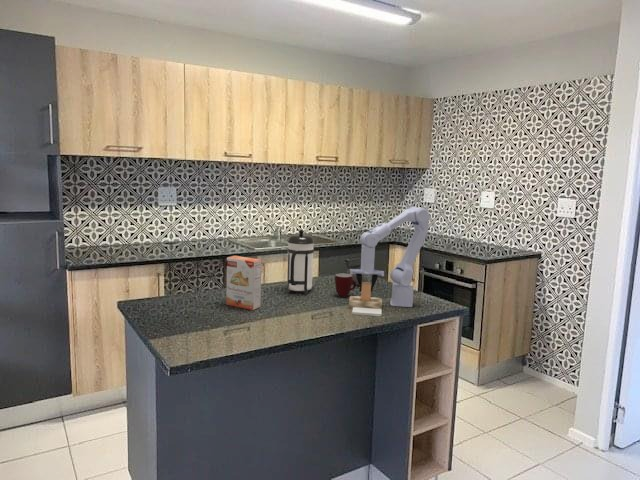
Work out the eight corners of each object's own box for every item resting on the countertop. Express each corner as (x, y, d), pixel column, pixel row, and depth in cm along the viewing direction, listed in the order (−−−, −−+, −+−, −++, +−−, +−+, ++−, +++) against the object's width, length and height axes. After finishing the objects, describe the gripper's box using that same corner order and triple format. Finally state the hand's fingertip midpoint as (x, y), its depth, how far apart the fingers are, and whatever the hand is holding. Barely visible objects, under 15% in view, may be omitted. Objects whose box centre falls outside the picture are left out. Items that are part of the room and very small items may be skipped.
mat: (381, 311, 200) (381, 309, 200) (381, 316, 193) (381, 314, 193) (353, 309, 202) (353, 307, 202) (352, 314, 195) (352, 312, 195)
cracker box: (225, 305, 201) (225, 257, 198) (234, 302, 206) (234, 254, 203) (252, 311, 195) (253, 261, 191) (261, 307, 200) (262, 258, 197)
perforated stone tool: (368, 287, 241) (369, 274, 240) (359, 288, 238) (360, 274, 237) (352, 280, 254) (353, 268, 253) (344, 281, 251) (345, 268, 250)
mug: (349, 292, 229) (350, 272, 228) (359, 296, 222) (360, 275, 221) (331, 294, 224) (331, 274, 222) (340, 299, 217) (341, 277, 215)
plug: (370, 300, 208) (371, 282, 207) (370, 302, 204) (371, 284, 203) (361, 299, 209) (362, 281, 208) (360, 302, 205) (361, 284, 204)
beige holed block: (381, 304, 211) (381, 298, 210) (381, 310, 202) (381, 303, 201) (350, 302, 212) (350, 295, 212) (348, 308, 203) (348, 301, 203)
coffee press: (277, 288, 231) (278, 227, 226) (307, 286, 238) (309, 227, 233) (290, 298, 216) (292, 232, 211) (322, 295, 222) (324, 232, 218)
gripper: (350, 261, 201) (348, 292, 203) (384, 263, 199) (383, 294, 201) (351, 258, 208) (349, 288, 210) (384, 260, 206) (382, 290, 208)
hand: (366, 291), depth 206 cm, fingers closed on plug, 4 cm apart
